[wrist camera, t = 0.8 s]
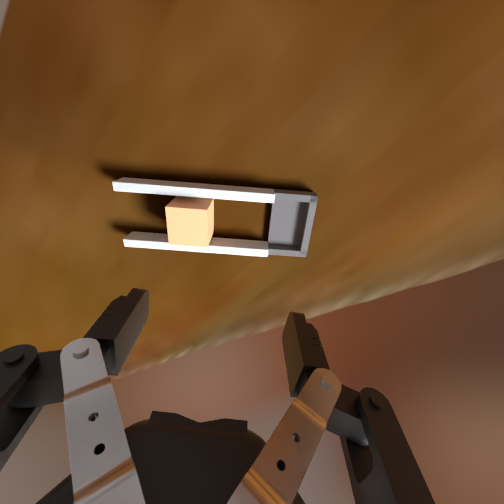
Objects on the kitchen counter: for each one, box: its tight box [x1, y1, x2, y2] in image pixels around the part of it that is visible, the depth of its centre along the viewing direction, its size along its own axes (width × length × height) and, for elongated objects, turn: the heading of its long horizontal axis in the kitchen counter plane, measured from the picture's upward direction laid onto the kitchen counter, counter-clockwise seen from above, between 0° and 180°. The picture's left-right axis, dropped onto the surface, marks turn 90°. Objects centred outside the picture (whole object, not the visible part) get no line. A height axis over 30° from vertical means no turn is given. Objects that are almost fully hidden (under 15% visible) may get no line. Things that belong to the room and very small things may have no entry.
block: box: [165, 196, 214, 247], centre depth 29 cm, size 4×4×4 cm
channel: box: [112, 177, 275, 257], centre depth 30 cm, size 18×8×2 cm, turn 86°
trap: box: [268, 189, 318, 257], centre depth 31 cm, size 5×8×2 cm, turn 176°
